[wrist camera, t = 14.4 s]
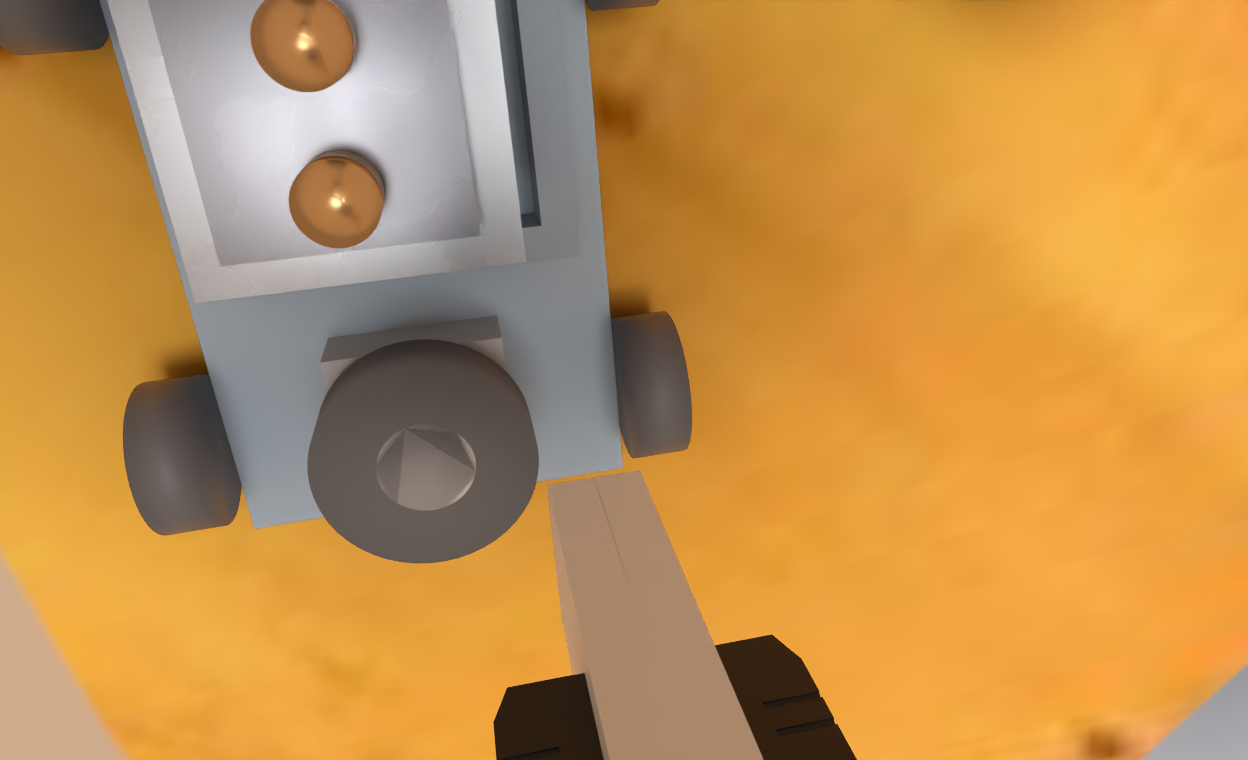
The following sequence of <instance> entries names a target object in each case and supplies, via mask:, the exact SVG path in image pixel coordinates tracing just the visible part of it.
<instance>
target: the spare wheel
mask: <svg viewBox="0 0 1248 760" xmlns="http://www.w3.org/2000/svg"><path fill="white" fill-rule="evenodd" d="M538 469H539V453H538V446H537V441H536V437H535V433H534V428H533V424H532V420H531V416H530V412H529V409H528V406H527V403H526V400H525V398H524V396H523V394H522V392H521V390H520V389H519V387H518V386H517V384H516V383H515V381H514V380H513V379H512V377H511V376H510V375H509V374H508V373H507V372H506V371H505V370H504V369H503V368H502V367H501V366H500V365H498V364H497V363H496V362H494V361H493V360H492V359H490V358H489V357H487V356H485V355H484V354H482V353H480V352H478V351H476V350H474V349H471V348H469V347H467V346H464V345H460V344H457V343H453V342H448V341H442V340H430V339H420V340H408V341H403V342H398V343H393V344H390V345H387V346H384V347H381V348H379V349H377V350H375V351H372V352H370V353H368V354H366V355H365V356H363V357H362V358H360V359H359V360H357V361H355V362H354V363H353V364H352V365H351V366H349V367H348V368H347V369H346V370H345V371H344V372H343V373H342V374H341V375H340V376H339V377H338V378H337V379H336V381H335V382H334V383H333V385H332V386H331V388H330V389H329V391H328V392H327V394H326V396H325V398H324V401H323V403H322V405H321V408H320V412H319V415H318V418H317V422H316V425H315V429H314V432H313V436H312V439H311V442H310V446H309V452H308V459H307V470H308V479H309V485H310V489H311V492H312V495H313V498H314V500H315V502H316V504H317V506H318V508H319V510H320V512H321V513H322V515H323V516H324V517H325V519H326V520H327V522H328V523H329V524H330V525H331V526H332V527H333V528H334V529H335V530H336V531H337V532H338V533H339V534H340V535H341V536H343V537H344V538H345V539H346V540H348V541H349V542H350V543H352V544H354V545H355V546H357V547H359V548H360V549H362V550H364V551H367V552H369V553H371V554H373V555H376V556H379V557H382V558H385V559H389V560H394V561H399V562H407V563H434V562H442V561H448V560H452V559H456V558H460V557H462V556H465V555H468V554H471V553H473V552H475V551H477V550H479V549H482V548H484V547H485V546H487V545H488V544H490V543H492V542H493V541H495V540H496V539H498V538H499V537H500V536H501V535H503V534H504V533H505V532H506V531H507V530H508V529H509V528H510V527H511V526H512V525H513V524H514V523H515V522H516V521H517V519H518V518H519V517H520V515H521V514H522V513H523V511H524V510H525V508H526V506H527V505H528V503H529V501H530V499H531V496H532V494H533V491H534V489H535V485H536V481H537V477H538Z"/></svg>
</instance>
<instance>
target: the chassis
mask: <svg viewBox="0 0 1248 760" xmlns="http://www.w3.org/2000/svg"><path fill="white" fill-rule="evenodd" d="M658 1H659V0H586V2H587V5H588V7H589V8H590V9H591V10H593V11H595V10H608V9H620V8H633V7H646V6H654V5H656V4H657V3H658ZM495 8H496V17H497V25H498V33H499V41H500V50H501V58H502V66H503V74H504V83H505V91H506V99H507V107H508V116H509V124H510V132H511V140H512V149H513V157H514V165H515V173H516V182H517V190H518V198H519V206H520V215H521V223H522V231H523V239H524V248H525V256H526V262H524V263H516V264H508V265H499V266H491V267H483V268H475V269H467V270H459V271H451V272H443V273H435V274H427V275H419V276H411V277H403V278H395V279H387V280H379V281H371V282H363V283H355V284H347V285H339V286H331V287H323V288H315V289H307V290H299V291H291V292H283V293H275V294H267V295H259V296H250V297H242V298H234V299H226V300H218V301H210V302H202V303H195V301H194V297H193V294H192V290H191V287H190V284H189V280H188V277H187V273H186V270H185V266H184V263H183V259H182V256H181V253H180V249H179V246H178V242H177V239H176V235H175V232H174V228H173V225H172V222H171V218H170V215H169V211H168V208H167V204H166V201H165V197H164V194H163V191H162V187H161V184H160V180H159V177H158V173H157V170H156V166H155V163H154V160H153V156H152V153H151V149H150V146H149V142H148V139H147V135H146V132H145V129H144V125H143V122H142V118H141V115H140V111H139V108H138V104H137V101H136V98H135V94H134V91H133V87H132V84H131V80H130V77H129V73H128V70H127V67H126V63H125V60H124V56H123V53H122V49H121V46H120V42H119V39H118V36H117V32H116V29H115V25H114V22H113V18H112V15H111V11H110V8H109V5H108V1H107V0H0V46H1V47H2V48H3V49H5V50H7V51H8V52H10V53H13V54H16V55H33V54H45V53H58V52H71V51H84V50H96V49H99V48H101V47H102V46H103V45H104V44H105V42H106V40H107V37H108V34H109V35H110V38H111V42H112V45H113V49H114V52H115V55H116V59H117V62H118V66H119V69H120V72H121V76H122V79H123V83H124V86H125V89H126V93H127V96H128V100H129V103H130V107H131V110H132V113H133V117H134V120H135V124H136V127H137V130H138V134H139V137H140V141H141V144H142V147H143V151H144V154H145V158H146V161H147V164H148V168H149V171H150V175H151V178H152V181H153V185H154V188H155V192H156V195H157V198H158V202H159V205H160V209H161V212H162V215H163V219H164V222H165V226H166V229H167V233H168V236H169V239H170V243H171V246H172V250H173V253H174V256H175V260H176V263H177V267H178V270H179V273H180V277H181V280H182V284H183V287H184V290H185V294H186V297H187V301H188V304H189V307H190V311H191V314H192V318H193V321H194V324H195V328H196V331H197V335H198V338H199V341H200V345H201V348H202V352H203V355H204V359H205V362H206V365H207V369H208V372H209V375H207V374H202V375H194V376H187V377H180V378H173V379H165V380H158V381H151V382H144V383H141V384H139V385H137V386H136V387H135V388H134V390H133V391H132V393H131V395H130V397H129V399H128V403H127V406H126V410H125V416H124V424H123V449H124V459H125V467H126V472H127V477H128V481H129V485H130V489H131V492H132V495H133V498H134V501H135V503H136V506H137V508H138V510H139V512H140V514H141V516H142V517H143V519H144V521H145V522H146V523H147V525H148V526H149V527H150V528H151V529H152V530H153V531H154V532H156V533H157V534H160V535H171V534H177V533H183V532H189V531H195V530H202V529H208V528H214V527H220V526H226V525H229V524H230V523H231V522H232V521H233V519H234V518H235V516H236V513H237V510H238V506H239V502H240V495H241V484H242V488H243V491H244V495H245V498H246V502H247V505H248V508H249V512H250V515H251V519H252V522H253V525H254V529H257V528H263V527H269V526H275V525H281V524H287V523H293V522H299V521H305V520H311V519H317V518H323V517H324V516H323V515H322V513H321V512H320V510H319V508H318V506H317V504H316V502H315V500H314V498H313V495H312V492H311V489H310V485H309V479H308V470H307V459H308V452H309V446H310V442H311V439H312V436H313V432H314V429H315V425H316V422H317V418H318V415H319V412H320V408H321V405H322V403H323V401H324V398H325V396H326V394H327V392H328V391H329V389H330V388H331V386H332V385H333V383H334V382H335V381H336V379H337V378H338V377H339V376H340V375H341V374H342V373H343V372H344V371H345V370H346V369H347V368H348V367H349V366H351V365H352V364H353V363H354V362H355V361H357V360H359V359H360V358H362V357H363V356H365V355H366V354H368V353H370V352H372V351H375V350H377V349H379V348H381V347H384V346H387V345H390V344H393V343H398V342H403V341H408V340H420V339H430V340H442V341H448V342H453V343H457V344H460V345H464V346H467V347H469V348H471V349H474V350H476V351H478V352H480V353H482V354H484V355H485V356H487V357H489V358H490V359H492V360H493V361H494V362H496V363H497V364H498V365H500V366H501V367H502V368H503V369H504V370H505V371H506V372H507V373H508V374H509V375H510V376H511V377H512V379H513V380H514V381H515V383H516V384H517V386H518V387H519V389H520V390H521V392H522V394H523V396H524V398H525V400H526V403H527V406H528V409H529V412H530V416H531V420H532V424H533V428H534V433H535V437H536V441H537V446H538V453H539V469H538V477H537V481H536V482H540V481H546V480H552V479H558V478H564V477H570V476H576V475H582V474H588V473H594V472H600V471H606V470H612V469H618V468H623V463H622V451H621V439H620V429H621V433H622V436H623V440H624V443H625V445H626V448H627V450H628V452H629V454H630V456H631V457H632V458H640V457H646V456H652V455H658V454H664V453H670V452H676V451H682V450H686V449H687V447H688V445H689V442H690V438H691V429H692V407H691V394H690V386H689V379H688V372H687V367H686V362H685V357H684V353H683V349H682V345H681V341H680V338H679V335H678V332H677V329H676V327H675V325H674V322H673V320H672V319H671V317H670V316H669V314H668V313H667V312H665V311H662V312H654V313H647V314H640V315H632V316H625V317H618V318H612V319H611V316H610V304H609V292H608V280H607V267H606V255H605V243H604V231H603V218H602V206H601V194H600V182H599V170H598V157H597V145H596V133H595V121H594V108H593V96H592V84H591V72H590V59H589V47H588V35H587V23H586V10H585V0H495ZM619 425H620V426H619Z"/></svg>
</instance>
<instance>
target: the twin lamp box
mask: <svg viewBox="0 0 1248 760" xmlns="http://www.w3.org/2000/svg"><path fill="white" fill-rule="evenodd" d="M107 1H108V5H109V8H110V11H111V15H112V18H113V22H114V25H115V29H116V32H117V36H118V39H119V42H120V46H121V49H122V53H123V56H124V60H125V63H126V67H127V70H128V73H129V77H130V80H131V84H132V87H133V91H134V94H135V98H136V101H137V104H138V108H139V111H140V115H141V118H142V122H143V125H144V129H145V132H146V135H147V139H148V142H149V146H150V149H151V153H152V156H153V160H154V163H155V166H156V170H157V173H158V177H159V180H160V184H161V187H162V191H163V194H164V197H165V201H166V204H167V208H168V211H169V215H170V218H171V222H172V225H173V228H174V232H175V235H176V239H177V242H178V246H179V249H180V253H181V256H182V259H183V263H184V266H185V270H186V273H187V277H188V280H189V284H190V287H191V290H192V294H193V297H194V301H195V303H202V302H210V301H218V300H226V299H234V298H242V297H250V296H259V295H267V294H275V293H283V292H291V291H299V290H307V289H315V288H323V287H331V286H339V285H347V284H355V283H363V282H371V281H379V280H387V279H395V278H403V277H411V276H419V275H427V274H435V273H443V272H451V271H459V270H467V269H475V268H483V267H491V266H499V265H508V264H516V263H524V262H526V256H525V248H524V239H523V231H522V223H521V215H520V206H519V198H518V190H517V182H516V173H515V165H514V157H513V149H512V140H511V132H510V124H509V116H508V107H507V99H506V91H505V83H504V74H503V66H502V58H501V50H500V41H499V33H498V25H497V17H496V8H495V0H107Z"/></svg>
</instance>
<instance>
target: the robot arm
mask: <svg viewBox="0 0 1248 760" xmlns="http://www.w3.org/2000/svg"><path fill="white" fill-rule="evenodd" d="M547 489H548V498H549V507H550V516H551V525H552V534H553V544H554V553H555V562H556V571H557V580H558V589H559V598H560V607H561V617H562V623H563V628H564V633H565V638H566V643H567V648H568V653H569V658H570V662H571V667H572V672H573V675H571V676H565V677H560V678H555V679H550V680H544V681H539V682H534V683H529V684H524V685H518V686H513V687H508V688H507V690H506V692H505V695H504V697H503V700H502V702H501V705H500V707H499V710H498V712H497V715H496V717H495V720H494V734H495V746H496V758H497V760H857V759H856V757H855V755H854V754H853V752H852V750H851V748H850V746H849V744H848V743H847V741H846V739H845V737H844V735H843V734H842V732H841V730H840V728H839V726H838V724H835V722H834V717H833V715H832V714H831V712H830V710H829V708H828V706H827V704H826V703H825V701H824V699H823V697H820V694H819V690H818V688H817V686H816V684H815V683H814V681H813V679H812V677H811V675H810V673H809V672H808V670H807V668H806V666H805V664H804V663H803V661H802V659H801V658H800V657H798V656H797V655H796V654H795V653H794V652H792V651H791V650H790V649H789V648H787V647H786V646H785V645H784V644H783V643H781V642H780V641H779V640H778V639H777V638H775V637H774V636H773V635H767V636H762V637H757V638H752V639H746V640H741V641H736V642H731V643H725V644H720V645H714V643H713V640H712V638H711V636H710V633H709V631H708V629H707V626H706V624H705V622H704V619H703V617H702V615H701V612H700V610H699V608H698V605H697V603H696V601H695V598H694V596H693V594H692V591H691V589H690V587H689V584H688V582H687V580H686V577H685V575H684V573H683V570H682V568H681V566H680V563H679V561H678V559H677V556H676V554H675V552H674V549H673V547H672V545H671V542H670V540H669V538H668V535H667V533H666V531H665V528H664V526H663V524H662V521H661V519H660V517H659V514H658V512H657V510H656V507H655V505H654V503H653V500H652V498H651V496H650V493H649V491H648V489H647V486H646V484H645V482H644V479H643V477H642V475H641V472H640V471H635V472H628V473H622V474H615V475H609V476H602V477H596V478H589V479H583V480H577V481H570V482H564V483H557V484H551V485H547Z"/></svg>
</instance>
